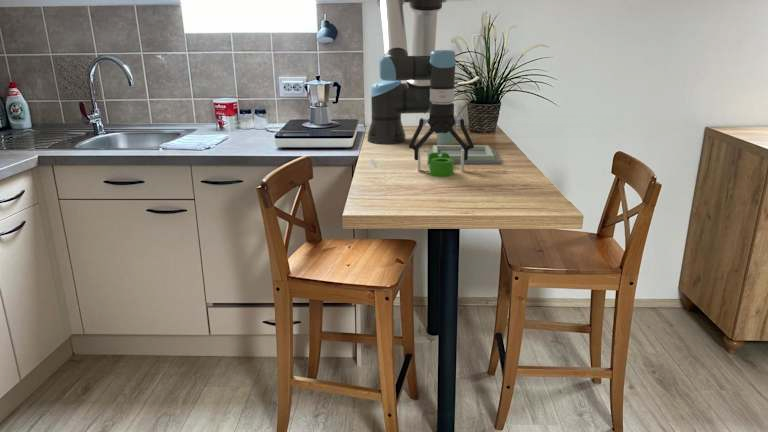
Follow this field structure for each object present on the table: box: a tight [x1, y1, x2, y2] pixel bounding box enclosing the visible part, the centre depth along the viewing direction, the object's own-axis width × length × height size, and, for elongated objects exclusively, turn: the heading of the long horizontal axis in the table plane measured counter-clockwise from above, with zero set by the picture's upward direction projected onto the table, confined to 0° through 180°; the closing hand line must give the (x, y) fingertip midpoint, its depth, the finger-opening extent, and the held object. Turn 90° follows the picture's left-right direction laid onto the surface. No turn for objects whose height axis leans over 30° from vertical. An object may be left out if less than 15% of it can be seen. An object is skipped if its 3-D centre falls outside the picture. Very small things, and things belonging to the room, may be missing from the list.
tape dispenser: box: [428, 152, 454, 178], centre depth 185 cm, size 15×7×5 cm, turn 0°
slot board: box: [426, 144, 502, 165], centre depth 202 cm, size 24×20×2 cm
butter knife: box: [368, 159, 378, 169], centre depth 188 cm, size 1×27×3 cm
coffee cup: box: [436, 113, 458, 145], centre depth 217 cm, size 9×8×12 cm
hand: (440, 170), depth 185 cm, fingers open, 13 cm apart
